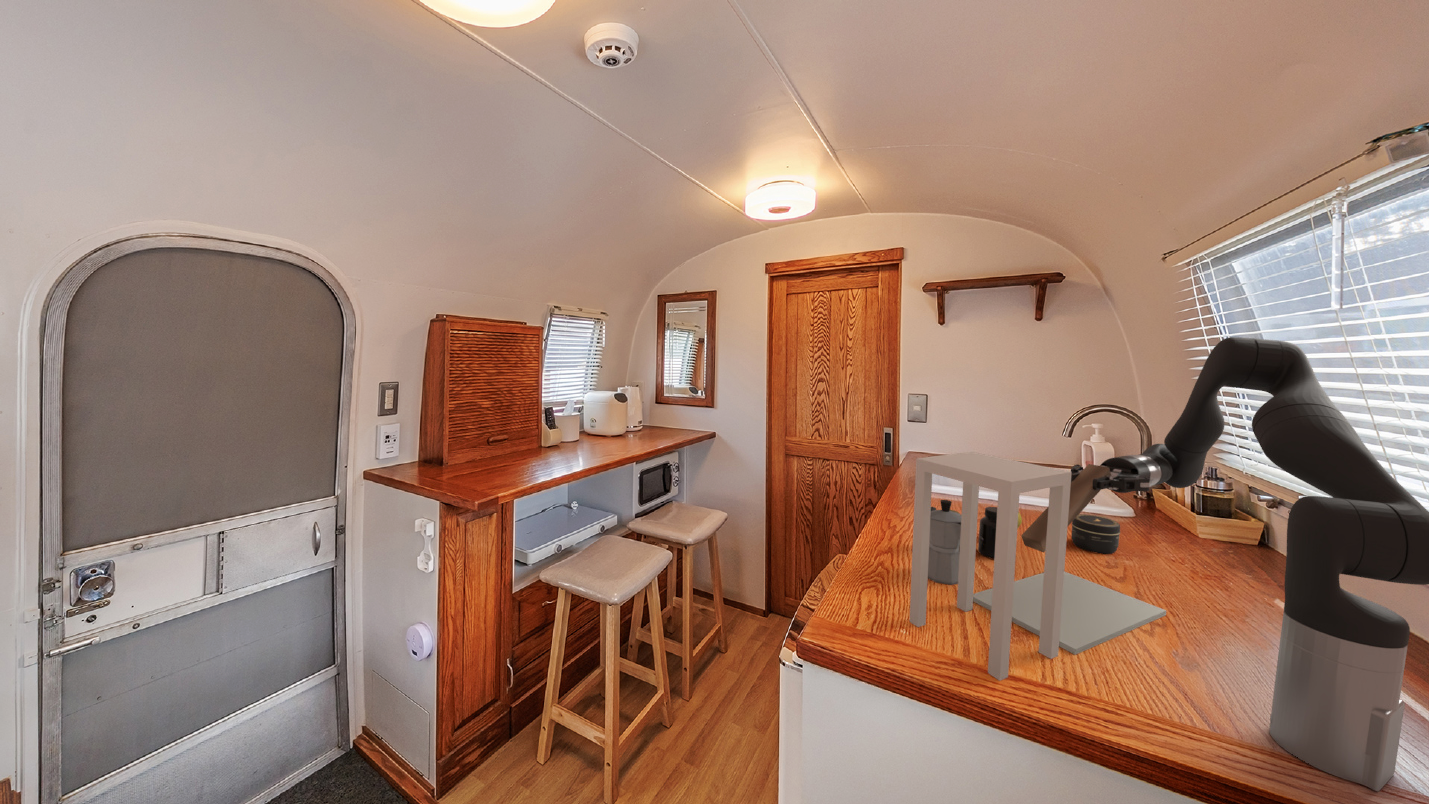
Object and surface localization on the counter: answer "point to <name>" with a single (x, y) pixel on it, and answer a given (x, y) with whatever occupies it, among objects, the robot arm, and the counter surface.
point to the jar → (1095, 533)
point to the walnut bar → (1078, 501)
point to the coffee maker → (944, 544)
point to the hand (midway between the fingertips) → (1083, 482)
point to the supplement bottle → (988, 533)
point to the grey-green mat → (1077, 611)
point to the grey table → (1009, 484)
